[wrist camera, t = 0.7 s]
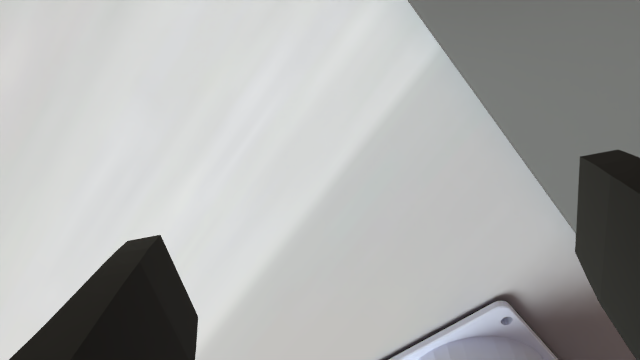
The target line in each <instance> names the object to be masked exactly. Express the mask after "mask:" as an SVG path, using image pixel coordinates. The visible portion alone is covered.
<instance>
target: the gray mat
mask: <svg viewBox="0 0 640 360" xmlns="http://www.w3.org/2000/svg"><path fill="white" fill-rule="evenodd" d="M408 2H409V3H410V4H411V6H412V7H413V8H414V10H415V11H416V13H417V14H418V15H419V17H420V18H421V20H422V21H423V22H424V24H425V25H426V27H427V28H428V29H429V31H430V32H431V33H432V35H433V36H434V38H435V39H436V40H437V42H438V43H439V45H440V46H441V47H442V49H443V50H444V51H445V53H446V54H447V56H448V57H449V58H450V60H451V61H452V63H453V64H454V65H455V67H456V68H457V70H458V71H459V72H460V74H461V75H462V76H463V78H464V79H465V81H466V82H467V83H468V85H469V86H470V88H471V89H472V90H473V92H474V93H475V95H476V96H477V97H478V99H479V100H480V101H481V103H482V104H483V106H484V107H485V108H486V110H487V111H488V113H489V114H490V115H491V117H492V118H493V119H494V121H495V122H496V124H497V125H498V126H499V128H500V129H501V131H502V132H503V133H504V135H505V136H506V138H507V139H508V140H509V142H510V143H511V144H512V146H513V147H514V149H515V150H516V151H517V153H518V154H519V156H520V157H521V158H522V160H523V161H524V162H525V164H526V165H527V167H528V168H529V169H530V171H531V172H532V174H533V175H534V176H535V178H536V179H537V181H538V182H539V183H540V185H541V186H542V187H543V189H544V190H545V192H546V193H547V194H548V196H549V197H550V199H551V200H552V201H553V203H554V204H555V206H556V207H557V208H558V210H559V211H560V212H561V214H562V215H563V217H564V218H565V219H566V221H567V222H568V224H569V225H570V226H571V228H572V229H573V230H574V232H575V233H576V225H577V205H578V184H579V164H580V156H586V155H591V154H596V153H602V152H607V151H612V150H621V151H624V152H627V153H629V154H632V155H634V156H637V157H639V158H640V0H408Z"/></svg>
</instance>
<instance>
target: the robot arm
mask: <svg viewBox="0 0 640 360" xmlns="http://www.w3.org/2000/svg"><path fill="white" fill-rule="evenodd" d="M575 253H576V255H577V257H578V259H579V261H580V263H581V266H582V268H583V270H584V272H585V274H586V276H587V279H588V281H589V283H590V285H591V287H592V289H593V291H594V293H595V295H596V297H597V299H598V301H599V303H600V304H601V306H602V308H603V309H604V311H605V312H606V314H607V315H608V317H609V318H610V320H611V322H612V323H613V325H614V326H615V328H616V329H617V331H618V332H619V334H620V335H621V337H622V338H623V340H624V342H625V343H626V345H627V346H628V348H629V349H630V351H631V352H632V354H633V355H634V357H635V358H636V360H640V158H639V157H637V156H634V155H632V154H629V153H627V152H624V151H621V150H612V151H607V152H602V153H596V154H591V155H586V156H580V164H579V184H578V205H577V225H576V246H575ZM504 317H507V318H504ZM197 325H198V316H197V314H196V311H195V309H194V307H193V305H192V303H191V301H190V298H189V296H188V294H187V292H186V290H185V287H184V285H183V283H182V281H181V279H180V277H179V274H178V272H177V270H176V268H175V266H174V264H173V261H172V259H171V257H170V255H169V253H168V250H167V248H166V246H165V244H164V242H163V240H162V237H161V235H157V236H152V237H147V238H141V239H136V240H131V241H127V242H126V243H125V244H124V245H123V246H121V247H120V248H119V249H118V250H117V251H116V252H115V253H114V254H113V255H112V256H111V257H110V258H109V259H108V260H107V261H106V262H105V263H104V264H103V265H102V266H101V267H100V268H99V269H98V270H97V271H96V272H95V273H94V274H93V275H92V276H91V277H90V279H89V280H88V281H87V282H86V283H85V284H84V285H83V286H82V287H81V288H80V289H79V290H78V291H77V292H76V293H75V294H74V295H73V296H72V297H71V298H70V299H69V300H68V301H67V302H66V304H65V305H64V306H63V307H62V308H61V309H60V310H59V311H58V312H57V313H56V314H55V315H54V316H53V317H52V318H51V319H50V320H49V321H48V322H47V323H46V324H45V325H44V326H43V327H42V328H41V329H40V330H39V331H38V332H37V333H36V334H35V335H34V336H33V337H32V338H31V339H30V340H29V341H28V342H27V343H26V344H25V345H24V346H23V347H22V348H21V349H20V350H19V351H18V352H17V353H15V354H14V355H13V356H12V357H11V358H10V359H9V360H195V352H196V340H197ZM388 360H558V358H557V357H556V356H555V355H554V354H553V353H552V352H551V351H550V349H549V348H548V347H547V346H546V345H545V344H544V343H543V342H542V340H541V339H540V338H539V337H538V336H537V335H536V334H535V333H534V331H533V330H532V329H531V328H530V327H529V326H528V325H527V324H526V322H525V321H524V320H523V319H522V318H521V317H520V316H519V315H518V313H517V312H516V311H515V310H514V309H513V308H512V307H511V306H510V304H509V303H507V302H505V301H496V302H494V303H492V304H490V305H488V306H486V307H484V308H483V309H481V310H479V311H477V312H475V313H473V314H471V315H470V316H468V317H466V318H464V319H462V320H460V321H459V322H457V323H455V324H453V325H451V326H449V327H447V328H446V329H444V330H442V331H440V332H438V333H436V334H435V335H433V336H431V337H429V338H427V339H425V340H423V341H422V342H420V343H418V344H416V345H414V346H412V347H411V348H409V349H407V350H405V351H403V352H401V353H400V354H398V355H396V356H394V357H392V358H390V359H388Z"/></svg>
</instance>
